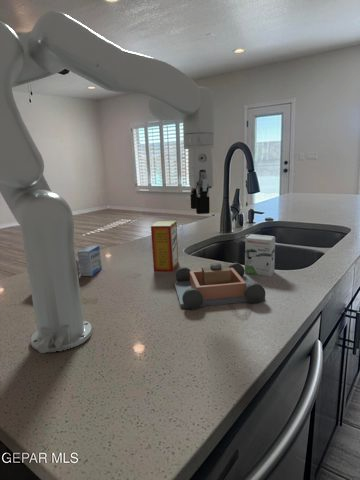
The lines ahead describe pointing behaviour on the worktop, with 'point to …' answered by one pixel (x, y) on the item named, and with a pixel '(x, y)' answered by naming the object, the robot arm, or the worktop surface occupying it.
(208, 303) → the chassis
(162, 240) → the baking soda box
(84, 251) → the medicine box
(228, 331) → the worktop surface
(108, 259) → the worktop surface
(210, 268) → the tan block
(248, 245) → the ink box
